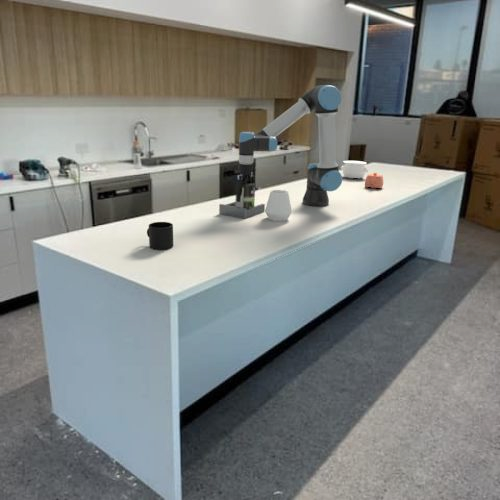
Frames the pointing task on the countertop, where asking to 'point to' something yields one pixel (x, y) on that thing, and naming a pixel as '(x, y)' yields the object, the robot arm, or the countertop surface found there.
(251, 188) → the coffee can
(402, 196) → the countertop surface
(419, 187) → the countertop surface
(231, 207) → the grey u-shaped frame
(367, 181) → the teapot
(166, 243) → the mug
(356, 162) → the pot
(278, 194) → the cup
